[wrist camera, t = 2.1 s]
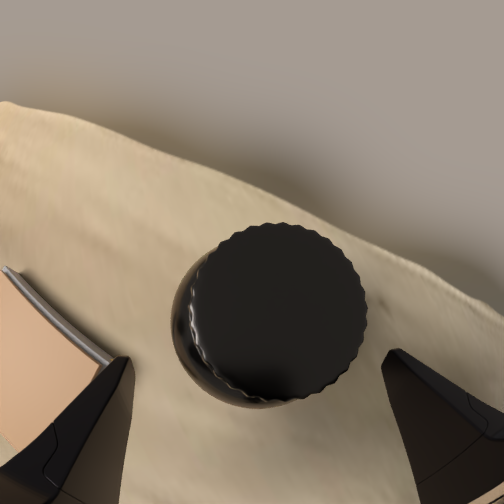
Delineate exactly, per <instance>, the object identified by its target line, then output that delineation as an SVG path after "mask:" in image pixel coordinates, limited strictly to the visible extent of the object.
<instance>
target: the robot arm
mask: <svg viewBox="0 0 504 504" xmlns="http://www.w3.org/2000/svg"><path fill="white" fill-rule="evenodd" d="M381 370H382V374H383V378H384V382H385V386H386V389H387V393H388V397H389V401H390V404H391V407H392V410H393V413H394V416H395V419H396V422H397V424H398V427H399V430H400V433H401V436H402V439H403V443H404V446H405V449H406V452H407V455H408V459H409V462H410V465H411V469H412V472H413V476H414V479H415V483H416V487H417V491H418V495H419V499H420V503H421V504H504V413H502V412H500V411H498V410H497V409H495V408H493V407H491V406H489V405H487V404H485V403H484V402H482V401H480V400H479V399H477V398H475V397H474V396H472V395H471V394H469V393H468V392H466V391H465V390H463V389H461V388H460V387H458V386H457V385H455V384H454V383H452V382H451V381H449V380H448V379H446V378H445V377H443V376H442V375H440V374H439V373H437V372H435V371H434V370H432V369H431V368H429V367H428V366H426V365H425V364H423V363H422V362H420V361H419V360H417V359H416V358H414V357H413V356H411V355H409V354H408V353H406V352H405V351H403V350H402V349H400V348H396V349H391V350H389V352H388V353H387V355H386V357H385V359H384V361H383V363H382V365H381ZM134 387H135V371H134V368H133V365H132V361H131V358H130V357H129V356H122V355H118V356H116V357H115V358H114V359H113V360H112V361H111V362H110V363H109V364H108V365H107V366H106V367H105V368H104V369H103V370H102V371H101V372H100V373H99V374H98V375H97V376H96V377H95V378H94V379H93V380H92V381H91V382H90V383H89V384H88V385H87V386H86V387H85V388H84V389H83V391H82V392H81V393H80V394H79V395H78V396H77V397H76V398H75V399H74V400H73V401H72V402H71V403H70V404H69V405H68V406H67V407H66V408H65V409H64V410H63V411H62V412H61V413H60V414H59V415H58V416H57V417H56V418H55V419H54V421H53V422H51V423H50V425H49V426H48V427H47V428H46V429H45V430H44V431H43V432H42V433H41V434H40V435H39V436H38V437H37V438H36V439H34V440H33V441H32V442H31V443H30V444H29V445H28V446H26V447H25V448H24V449H23V450H22V451H20V452H19V453H18V454H17V455H15V456H14V457H13V458H12V459H11V460H9V461H8V462H7V463H6V464H4V465H3V466H1V467H0V504H119V495H120V487H121V479H122V472H123V465H124V459H125V453H126V447H127V441H128V436H129V430H130V425H131V419H132V409H133V397H134Z"/></svg>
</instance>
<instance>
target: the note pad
mask: <svg viewBox="0 0 504 504" xmlns="http://www.w3.org/2000/svg"><path fill="white" fill-rule="evenodd" d="M113 359H114V358H113V357H112V356H110V355H109V354H108V353H106V352H105V351H103V350H102V349H101V348H100V347H98V346H97V345H96V344H94V343H93V342H92V341H91V340H89V339H88V338H87V337H86V336H84V335H83V334H82V333H81V332H79V331H78V330H77V329H76V328H75V327H73V326H72V325H71V324H70V323H69V322H68V321H67V320H65V319H64V318H63V317H62V316H61V315H60V314H59V313H58V312H56V311H55V310H54V309H53V308H52V307H51V306H50V305H49V304H48V303H47V302H46V301H45V300H44V299H43V298H42V297H41V296H40V295H39V294H38V293H37V292H36V291H35V290H34V289H33V288H32V287H31V286H30V285H29V284H28V283H27V282H26V281H25V280H24V279H23V278H22V277H21V276H20V274H19V273H17V272H16V271H14V270H12V269H10V268H8V267H7V266H4V268H3V270H2V271H1V270H0V433H1V434H2V435H3V436H4V438H5V439H6V440H7V441H8V442H9V443H10V444H11V445H12V446H13V447H14V448H15V449H16V450H17V451H18V452H20V451H22V450H23V449H24V448H25V447H26V446H28V445H29V444H30V443H31V442H32V441H33V440H34V439H36V438H37V437H38V436H39V435H40V434H41V433H42V432H43V431H44V430H45V429H46V428H47V427H48V426H49V425H50V423H51V422H53V421H54V419H55V418H56V417H57V416H58V415H59V414H60V413H61V412H62V411H63V410H64V409H65V408H66V407H67V406H68V405H69V404H70V403H71V402H72V401H73V400H74V399H75V398H76V397H77V396H78V395H79V394H80V393H81V392H82V391H83V389H84V388H85V387H86V386H87V385H88V384H89V383H90V382H91V381H92V380H93V379H94V378H95V377H96V376H97V375H98V374H99V373H100V372H101V371H102V370H103V369H104V368H105V367H106V366H107V365H108V364H109V363H110V362H111V361H112V360H113Z"/></svg>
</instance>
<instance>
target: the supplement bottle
mask: <svg viewBox="0 0 504 504" xmlns="http://www.w3.org/2000/svg"><path fill="white" fill-rule="evenodd" d="M367 309H368V308H367V305H366V302H365V291H364V289H363V287H362V286H361V284H360V276H359V275H358V274H357V273H356V272H355V270H354V268H353V265H352V262H351V261H350V260H349V259H347V258H346V257H345V256H344V253H343V252H342V250H341V249H340V248H338V247H336V246H334V245H333V244H332V242H331V241H330V239H328V238H325V237H322V236H320V235H319V234H318V233H317V232H316V231H315V230H307V229H305V228H304V227H302V226H301V225H289V224H287V223H284V222H282V223H278V224H272V223H264V224H262V225H260V226H249V227H248V228H247V229H246V230H244V231H242V232H235V233H234V234H233V235H232V236H231V237H230V239H228V240H225V241H222V242H220V244H219V245H218V247H216V248H214V249H212V250H211V251H209V252H207V253H206V254H205V255H203V256H202V257H201V258H200V259H199V260H198V261H197V262H196V263H194V265H193V266H192V267H191V268H190V269H189V270H188V272H187V273H186V275H185V276H184V278H183V279H182V281H181V283H180V285H179V287H178V289H177V291H176V294H175V297H174V300H173V305H172V310H171V335H172V340H173V345H174V348H175V351H176V354H177V356H178V358H179V361H180V362H181V364H182V366H183V368H184V369H185V371H186V372H187V373H188V375H189V376H190V377H191V379H192V380H193V381H194V382H195V383H196V384H197V385H198V386H199V387H200V388H202V389H203V390H204V391H205V392H207V393H208V394H210V395H211V396H213V397H215V398H216V399H218V400H220V401H223V402H225V403H228V404H231V405H234V406H238V407H242V408H250V409H265V408H273V407H278V406H282V405H285V404H288V403H290V402H293V401H295V400H297V399H305V398H306V397H308V396H309V395H310V394H315V393H320V392H321V391H322V390H324V388H325V387H326V386H328V385H331V384H334V383H335V382H336V381H337V379H338V377H339V376H340V375H341V374H343V373H345V372H346V371H347V370H348V368H349V365H350V362H351V361H353V360H354V359H355V358H356V357H357V354H358V348H359V347H360V345H361V344H362V342H363V340H364V335H363V334H364V331H365V329H366V326H367V320H366V313H367Z"/></svg>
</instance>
